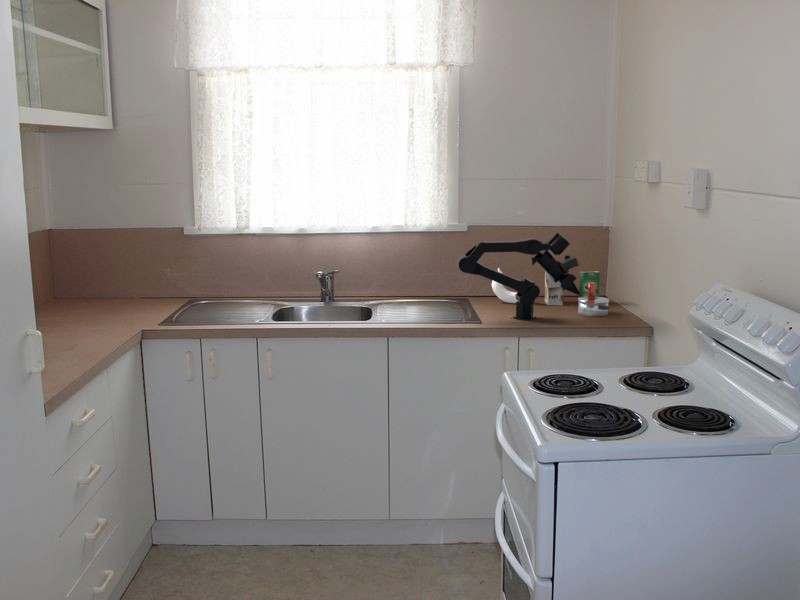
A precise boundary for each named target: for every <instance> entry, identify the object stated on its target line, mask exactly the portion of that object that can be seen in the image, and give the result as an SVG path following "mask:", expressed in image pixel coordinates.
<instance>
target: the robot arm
mask: <svg viewBox="0 0 800 600" xmlns="http://www.w3.org/2000/svg"><path fill="white" fill-rule="evenodd" d="M570 246H571V244H570V242H569V241H568V240H567V239H566V238H564V237H563V236H562V235H561V234H560V233H559V232H555V233H554V234H553V235H552V236H551V238H549V239H548V240H547V241H546V242H545V241H539V240H538V239H537V238H534V237H526V238H521V239H518V240H507V241H506V240H505V241H502V240H501V241H483V240H480V241H478V242H476V243H475V245H474V246H472V248H470V249H469V250H468V251H467V252H466V253H465V254H462V255H460V256H458V258H457V260H456V266H457V268H458V269H459V270H460V272H462V273H465V274H469V275H475V276H481V277H483V278H486V279H488V280H490V281H495V282H498V283H500V284H502V285H503V286H504V287H506V288H507V287H508V288H510V289H512V290H515V291H516V292H515V293H516V294H515V297H516V299H517V300H518V301H517V302H516V303H515V305H516V306H515V315H513V316H512V318H513V319H515V320H523V321H529V320H534V319H537V316H534V311H535V310H534V303H535V300H536V299H537V298H539V296H540V294H541V289H540V287H539V286H538V285H537V284H536V282H535V281H534V280H532V279H528V278H526V277H525V276H521V278H520V279H519V278H515V277H512V276H510V275H507V274H504V272H502V273H500V272H498V270H495V269H493V268H490V267H488V266H486V265H484V264H481V263H480V262H478V261H479V260H480V259H481V258H482V256H483V255H484V254H485V253H519V254H525V255H532V256H530V261H529V262H530V263H529V264H531V265H532V266H534V265H535V264H536V263H537V264H538V265H539V266H540V267H541V268H542V269H543V270H544V272H545V271H546V272H547V273H548V274H549V275H550V276H551V279H552V280H553V281H554V282H555V283H557V282H559V286H560V287H561V288H562V289H563V291H565V290H566V291H568V292H570V293H572V294H575V295H577V296H579V294H580V292H579V288H578V287H577V285H576V284H575V281H576V279H577V277H576V276H575V275H574V274H573V273H572V272H570V271H569V270H571V269H573V268H575V267H576V268H577V267H579V266H580V263H579V261H578V259H577V257H576V256H575V255H571V256H570V255H569V254H565V255H564V256H563V260H562V261H559V260H557V259H556V258H555V256H560V255H562V253H563V252H564V251H566V249H568V247H570ZM552 254H553V255H552ZM533 318H534V319H533Z"/></svg>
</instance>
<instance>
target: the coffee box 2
mask: <svg viewBox="0 0 800 600" xmlns="http://www.w3.org/2000/svg"><path fill="white" fill-rule="evenodd" d="M600 276H601V272H600V271H596V270H594V271H579V285H578V290H579V292H580V294H579V295H578V298H579V297H587V296H588V283H595V296H596V297H600V296H599V295H600V292H599V291H600V283H601V282H600V280H601V279H600V278H601V277H600Z"/></svg>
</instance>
